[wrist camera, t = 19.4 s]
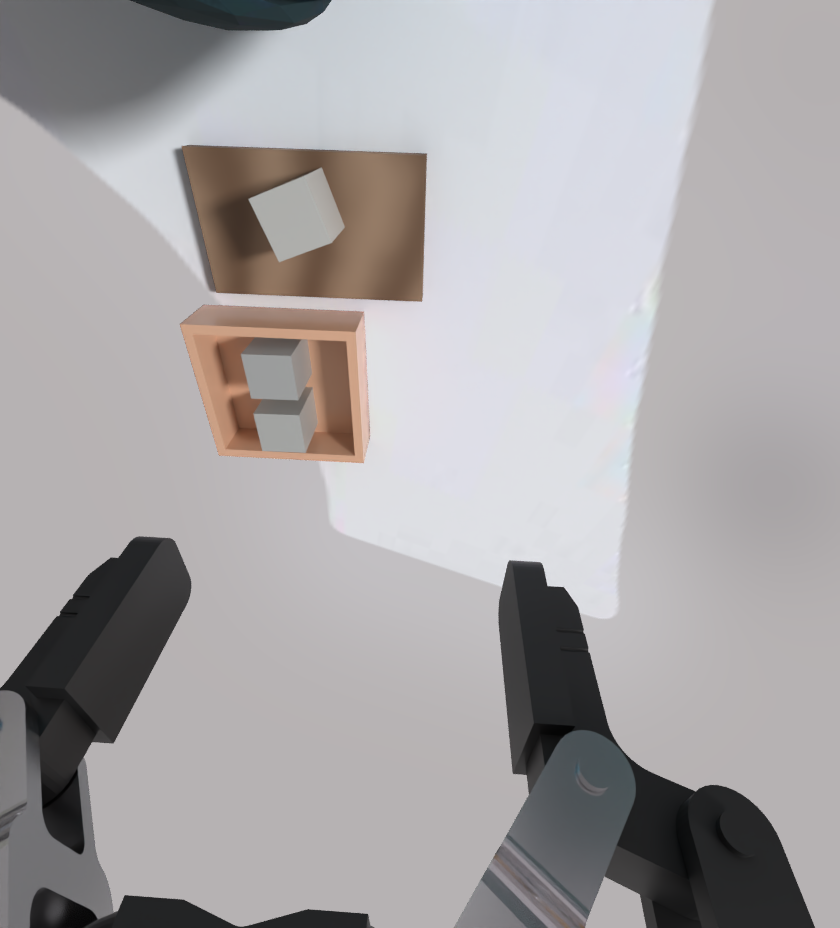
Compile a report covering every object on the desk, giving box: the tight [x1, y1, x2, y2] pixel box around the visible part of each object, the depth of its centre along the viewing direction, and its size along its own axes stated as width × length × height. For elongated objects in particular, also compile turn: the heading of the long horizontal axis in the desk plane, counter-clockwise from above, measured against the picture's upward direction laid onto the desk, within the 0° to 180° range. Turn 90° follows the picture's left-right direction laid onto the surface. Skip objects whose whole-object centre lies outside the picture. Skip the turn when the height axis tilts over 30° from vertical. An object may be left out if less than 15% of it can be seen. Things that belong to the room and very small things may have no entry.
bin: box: [180, 305, 370, 463], centre depth 42 cm, size 14×13×4 cm
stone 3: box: [253, 387, 318, 453], centre depth 43 cm, size 4×4×5 cm
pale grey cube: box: [249, 167, 345, 262], centre depth 32 cm, size 4×4×5 cm
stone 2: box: [241, 337, 312, 400], centre depth 40 cm, size 4×4×5 cm
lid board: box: [182, 145, 427, 302], centre depth 36 cm, size 17×10×1 cm, turn 88°
